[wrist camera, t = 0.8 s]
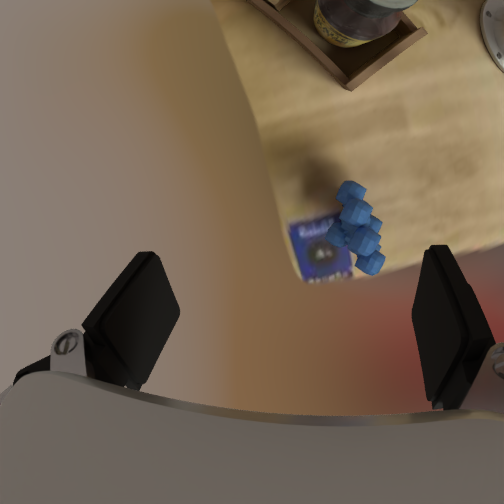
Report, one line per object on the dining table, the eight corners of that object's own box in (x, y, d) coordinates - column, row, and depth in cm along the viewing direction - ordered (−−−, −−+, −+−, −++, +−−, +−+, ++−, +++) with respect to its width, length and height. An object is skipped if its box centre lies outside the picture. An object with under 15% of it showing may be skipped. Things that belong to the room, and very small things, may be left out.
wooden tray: (299, -59, 18) (296, -80, 14) (409, 38, 23) (427, 33, 18) (235, -8, 24) (220, -22, 19) (344, 89, 28) (351, 91, 24)
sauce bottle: (303, 10, 24) (290, -63, 8) (353, -6, 22) (395, -84, 5) (330, 59, 27) (357, 36, 11) (380, 42, 24) (458, 12, 8)
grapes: (307, 173, 35) (304, 218, 25) (360, 156, 32) (380, 195, 23) (336, 251, 40) (340, 313, 30) (383, 238, 38) (402, 298, 28)
